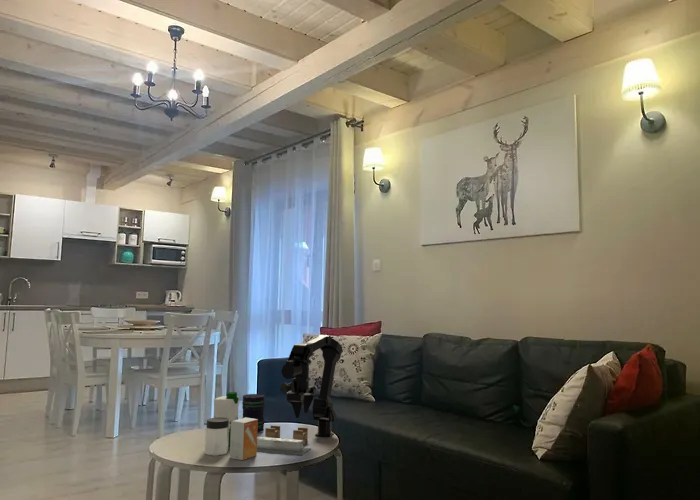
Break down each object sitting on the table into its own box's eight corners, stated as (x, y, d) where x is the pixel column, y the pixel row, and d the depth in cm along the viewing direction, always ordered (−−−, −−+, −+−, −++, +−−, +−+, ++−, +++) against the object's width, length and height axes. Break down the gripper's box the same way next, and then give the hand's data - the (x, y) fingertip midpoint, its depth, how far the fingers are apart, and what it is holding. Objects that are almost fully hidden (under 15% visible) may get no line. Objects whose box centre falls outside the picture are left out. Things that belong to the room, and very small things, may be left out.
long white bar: (254, 445, 206) (255, 436, 206) (303, 449, 200) (303, 440, 201) (250, 447, 202) (251, 438, 203) (299, 452, 197) (299, 442, 197)
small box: (242, 460, 187) (244, 422, 188) (229, 458, 190) (230, 420, 191) (257, 455, 194) (258, 418, 195) (243, 452, 197) (244, 417, 198)
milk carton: (231, 447, 204) (232, 394, 206) (209, 446, 206) (211, 393, 208) (240, 442, 212) (241, 391, 215) (219, 440, 214) (221, 390, 217)
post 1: (271, 438, 218) (271, 425, 218) (280, 439, 217) (280, 425, 217) (265, 442, 212) (265, 428, 213) (274, 443, 211) (274, 429, 212)
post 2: (298, 441, 215) (298, 427, 215) (307, 441, 214) (307, 427, 214) (292, 444, 209) (293, 430, 210) (302, 445, 208) (302, 431, 209)
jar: (208, 457, 191) (209, 422, 192) (201, 451, 198) (202, 418, 199) (232, 453, 196) (233, 420, 197) (224, 448, 203) (225, 416, 204)
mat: (253, 444, 209) (253, 443, 209) (310, 449, 202) (310, 448, 202) (242, 450, 200) (242, 449, 200) (302, 455, 194) (302, 454, 194)
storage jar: (248, 427, 239) (249, 393, 241) (268, 428, 236) (268, 394, 238) (237, 431, 230) (238, 396, 232) (256, 433, 227) (257, 398, 228)
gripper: (291, 371, 223) (291, 409, 221) (273, 378, 205) (273, 419, 204) (316, 372, 220) (316, 410, 218) (300, 379, 202) (300, 421, 201)
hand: (301, 415), depth 210 cm, fingers open, 9 cm apart
